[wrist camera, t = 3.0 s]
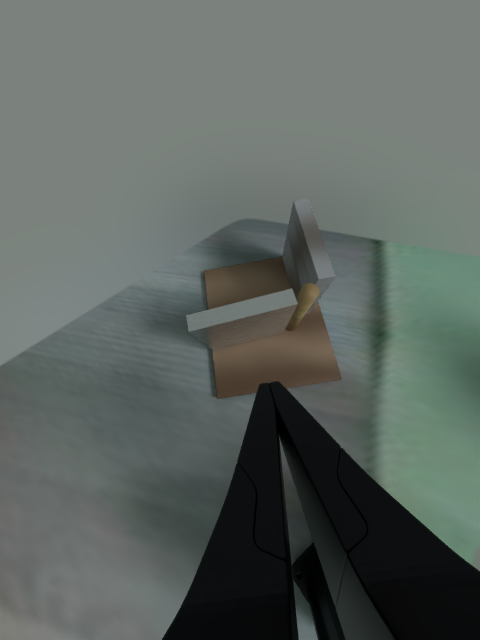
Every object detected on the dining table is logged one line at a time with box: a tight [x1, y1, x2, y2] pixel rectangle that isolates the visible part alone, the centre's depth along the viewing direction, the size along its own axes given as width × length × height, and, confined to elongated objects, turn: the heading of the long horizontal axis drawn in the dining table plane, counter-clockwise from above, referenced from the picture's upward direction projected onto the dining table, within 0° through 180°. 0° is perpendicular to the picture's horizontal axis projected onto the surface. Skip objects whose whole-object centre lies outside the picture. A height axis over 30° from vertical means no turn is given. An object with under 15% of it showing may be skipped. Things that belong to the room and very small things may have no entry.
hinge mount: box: [204, 198, 342, 399], centre depth 18 cm, size 14×12×9 cm
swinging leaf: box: [186, 289, 298, 350], centre depth 17 cm, size 8×1×8 cm, turn 104°
